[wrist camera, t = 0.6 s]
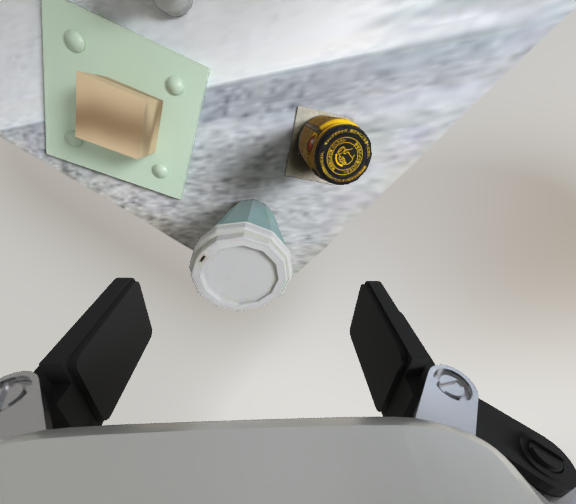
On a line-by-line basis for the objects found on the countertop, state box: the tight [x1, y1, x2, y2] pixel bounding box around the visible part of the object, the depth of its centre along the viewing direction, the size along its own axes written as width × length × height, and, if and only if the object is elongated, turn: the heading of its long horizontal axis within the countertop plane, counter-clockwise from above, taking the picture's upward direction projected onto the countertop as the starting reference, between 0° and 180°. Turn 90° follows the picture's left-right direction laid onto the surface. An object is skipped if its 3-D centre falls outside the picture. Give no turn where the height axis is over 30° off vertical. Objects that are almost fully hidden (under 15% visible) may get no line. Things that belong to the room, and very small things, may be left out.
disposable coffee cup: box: [189, 199, 292, 311], centre depth 32 cm, size 11×11×15 cm
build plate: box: [41, 0, 210, 200], centre depth 30 cm, size 16×16×1 cm
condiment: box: [285, 106, 372, 185], centre depth 29 cm, size 7×8×12 cm
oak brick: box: [75, 71, 163, 159], centre depth 28 cm, size 6×6×5 cm
